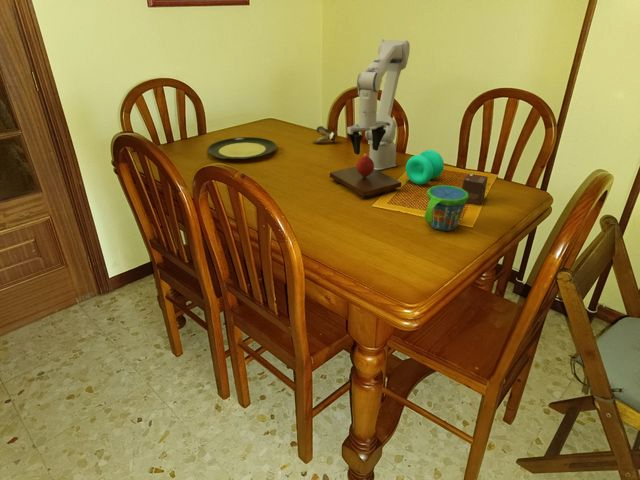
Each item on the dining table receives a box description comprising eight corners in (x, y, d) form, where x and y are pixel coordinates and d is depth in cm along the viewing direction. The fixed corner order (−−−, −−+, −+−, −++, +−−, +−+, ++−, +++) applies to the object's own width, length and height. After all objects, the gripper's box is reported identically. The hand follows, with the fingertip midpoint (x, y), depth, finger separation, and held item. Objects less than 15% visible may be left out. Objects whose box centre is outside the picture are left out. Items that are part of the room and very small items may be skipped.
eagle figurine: (336, 136, 197) (316, 132, 197) (338, 125, 190) (317, 121, 190) (333, 150, 193) (312, 145, 193) (335, 139, 187) (313, 135, 187)
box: (479, 205, 137) (483, 183, 133) (459, 201, 139) (462, 179, 136) (484, 198, 141) (488, 176, 137) (465, 194, 144) (468, 173, 140)
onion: (374, 174, 152) (375, 151, 148) (372, 180, 147) (373, 157, 143) (356, 173, 153) (357, 150, 149) (355, 179, 148) (355, 156, 144)
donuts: (402, 181, 154) (405, 153, 149) (418, 173, 161) (421, 146, 156) (428, 189, 148) (431, 160, 143) (443, 180, 155) (447, 152, 150)
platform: (365, 172, 162) (365, 164, 161) (400, 190, 147) (401, 182, 146) (329, 180, 156) (329, 172, 154) (363, 200, 141) (363, 191, 139)
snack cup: (447, 212, 133) (452, 179, 128) (476, 225, 125) (482, 191, 120) (409, 226, 125) (412, 192, 120) (438, 241, 118) (443, 206, 113)
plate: (290, 149, 186) (290, 143, 185) (246, 169, 166) (246, 162, 165) (239, 138, 200) (239, 133, 198) (192, 156, 179) (191, 150, 178)
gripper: (356, 116, 139) (355, 158, 145) (393, 110, 145) (390, 151, 152) (343, 112, 144) (343, 152, 151) (380, 106, 150) (377, 145, 157)
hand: (366, 151), depth 151 cm, fingers open, 7 cm apart
